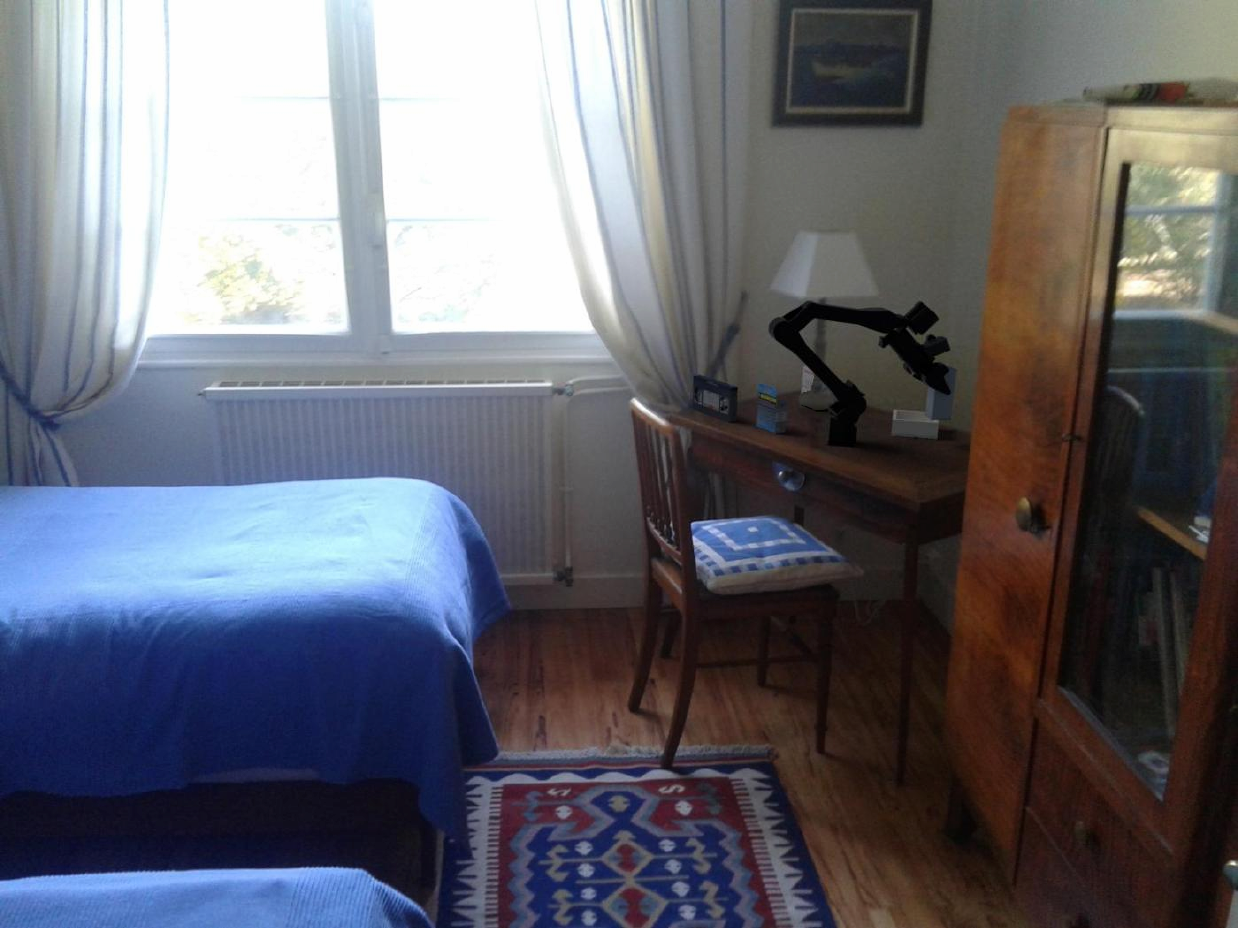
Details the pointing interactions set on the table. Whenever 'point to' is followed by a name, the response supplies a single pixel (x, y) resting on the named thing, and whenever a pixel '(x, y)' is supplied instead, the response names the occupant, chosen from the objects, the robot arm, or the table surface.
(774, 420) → the label tape box
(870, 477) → the table surface
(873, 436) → the table surface
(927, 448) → the table surface
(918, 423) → the cream crate
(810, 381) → the ink box
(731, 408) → the vhs cassette tape
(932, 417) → the grey hollow square tube
